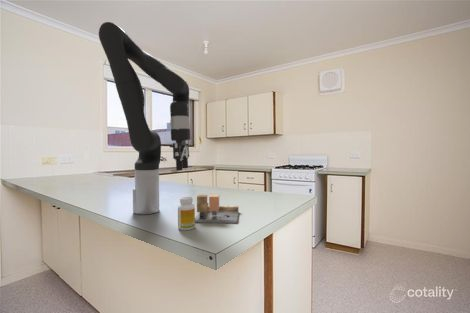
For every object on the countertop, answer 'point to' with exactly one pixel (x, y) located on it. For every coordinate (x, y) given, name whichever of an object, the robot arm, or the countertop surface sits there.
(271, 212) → the countertop surface
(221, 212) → the bolt plate
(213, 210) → the block
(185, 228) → the supplement bottle
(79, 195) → the countertop surface
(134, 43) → the robot arm
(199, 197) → the gauge rule
